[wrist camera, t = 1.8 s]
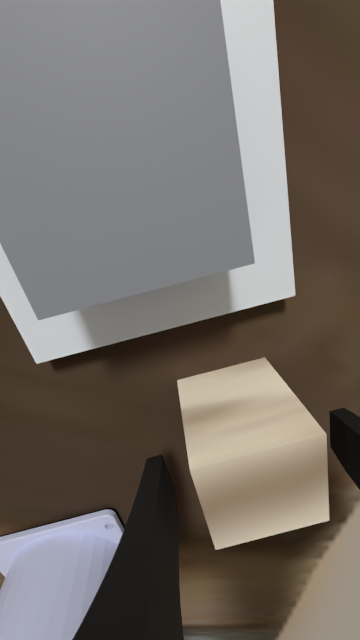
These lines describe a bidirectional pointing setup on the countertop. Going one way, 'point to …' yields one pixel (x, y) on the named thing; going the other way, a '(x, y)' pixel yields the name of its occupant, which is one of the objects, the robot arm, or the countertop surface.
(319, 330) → the countertop surface
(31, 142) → the white grey square pedestal
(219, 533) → the birch block
